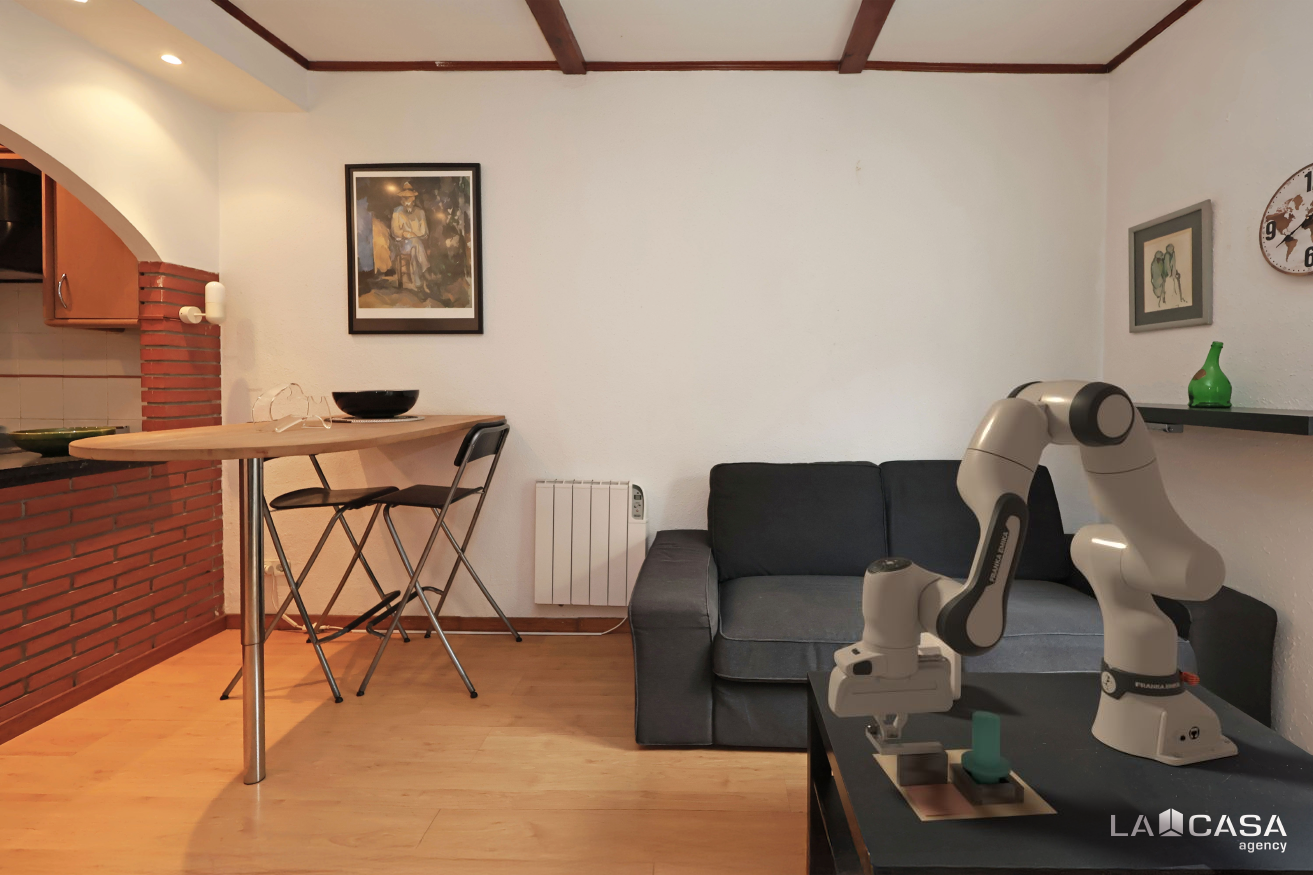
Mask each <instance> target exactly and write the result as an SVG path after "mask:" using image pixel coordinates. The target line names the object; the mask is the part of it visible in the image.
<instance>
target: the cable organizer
mask: <svg viewBox="0 0 1313 875" xmlns="http://www.w3.org/2000/svg"><path fill="white" fill-rule="evenodd" d="M934 654H942V655H943V656H944V657H946V658H948V659H949V661H950V663H951V676H950V682H951V688H952V697H953V701H956V700H959V699H960V698H961V692H962V691H961V690H962V688H961V686H962V682H961V681H962V655H960V654H958V653H956V652H955V651H953V650H952V649H951V648H950V647H949V646H947V645H946V644H945V643H944V642H943V641H942V640H940V639H939V638H937V637H935V636H934V635H932V634H930V633H929V632H928V633H921V634H920V644H918V655H934ZM943 660H945V659H943Z"/></svg>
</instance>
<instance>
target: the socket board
mask: <svg viewBox="0 0 1313 875" xmlns="http://www.w3.org/2000/svg"><path fill="white" fill-rule="evenodd" d="M970 750H972V748H970V749H969V748H968V749H967V748H966V749H949V750H948V749H947V750H944V749H942V752H941V753H921V754H901V755H882V756H881V754H880V753H872V756H873V758H875V760H876V761H877V763H878V764H879V765H880V767H881V768H882V769H883V771H884V772H885V773H886V775H887V776H888V777H889V779H890V780H891V782H892V783H893V784H894V785H895V787H896V788H897V789H898V791H899V792H900V794H902V796H903V798H904V799H905V800H906V801H907V803H908V804H909V806H910V807H911V808H912V811H914V813H915V814H916V816H918V818H919V819H920V820H921V821H922V822H930V821H932V822H933V821H946V820H947V821H948V820H962V819H963V820H964V819H965V820H967V819H981V818H997V817H998V818H999V817H1012V816H1013V817H1014V816H1016V817H1017V816H1032V815H1051V814H1058V811H1056V810H1055V809H1054V807H1052V806H1050V804H1049V803H1048V802H1046V800H1044V799H1043V798H1042V797H1041V796H1040V795H1039V794H1038V793H1037V792H1036V791H1035V790H1034V789H1032V787H1030V786H1029V785H1028V784H1027V783H1026V782H1025V781H1023V779H1021V778H1020V777H1019V776H1018V775H1017V774H1016V773H1015V772H1014V771H1013V770H1012V769H1011V772H1010V774H1009V775H1007V776H1005V777H1001V778H999V784H981V785H978V784H977V783H976V782H975V781H974V780H973V779H972V772H970V771H968V770H967V769H965V768H964V767H963V766H962V764H961V755H962V754H963V753H964V752H966V751H970Z"/></svg>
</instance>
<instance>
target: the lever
mask: <svg viewBox="0 0 1313 875" xmlns="http://www.w3.org/2000/svg"><path fill="white" fill-rule="evenodd" d="M865 736H866V737H867V739H868V740H869V741H870V743H871V744H872V745H873V746H874V748H875V749H876V750H877V751H878V754H881V756H882V755H901V754H921V753H941V752H942V750H943V745H942V744H941V742H939V741H926V742H925V741H924V742H922V741H921V742H906V743H905V742H904V743H887V742H886V741H885V739H883V738H882V737H881V735H880V733H879V724H878V723H874V722H869V723H866V727H865Z"/></svg>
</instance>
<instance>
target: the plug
mask: <svg viewBox="0 0 1313 875" xmlns="http://www.w3.org/2000/svg"><path fill="white" fill-rule="evenodd" d="M971 723H972V724H971V725H972V730H971V731H972V732H971V734H972V736H971V737H972V738H971V749H972V750H970V751H966V752H964V753H963V754H962V755H961V764H962V766H963V767H964V768H965V769H967V770H968V771H970V772H972V779H973V780H974V781H975V782H976V783H977V784H978V785H981V784H999V778H1001V777H1005V776H1007V775H1009V774H1010V772H1011V770H1012V769H1011V768H1012V765H1011V762H1010V761H1009V760H1008V759H1007V758H1006V757H1004V756H1002V755H1001V750H1000V749H1001V746H1000V745H1001V718H1000V716H999V715H997V714H995V713H993V712H991V711H990V712H989V711H984V710H983V711H979V710H978V711H975V712H973V713H972V721H971Z"/></svg>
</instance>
